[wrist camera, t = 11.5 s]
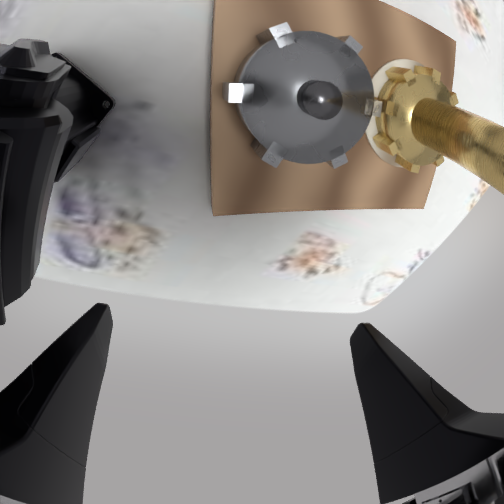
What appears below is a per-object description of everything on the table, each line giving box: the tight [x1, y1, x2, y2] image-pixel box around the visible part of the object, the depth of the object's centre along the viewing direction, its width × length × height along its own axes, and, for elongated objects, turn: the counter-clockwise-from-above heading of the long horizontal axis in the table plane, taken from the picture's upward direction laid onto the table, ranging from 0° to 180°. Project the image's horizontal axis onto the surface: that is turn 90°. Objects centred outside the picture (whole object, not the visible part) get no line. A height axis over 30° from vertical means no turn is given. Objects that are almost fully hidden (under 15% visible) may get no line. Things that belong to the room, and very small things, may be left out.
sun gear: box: [222, 22, 383, 169], centre depth 13 cm, size 9×8×4 cm
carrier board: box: [210, 0, 456, 216], centre depth 16 cm, size 20×17×2 cm
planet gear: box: [373, 65, 504, 194], centre depth 11 cm, size 8×8×12 cm
